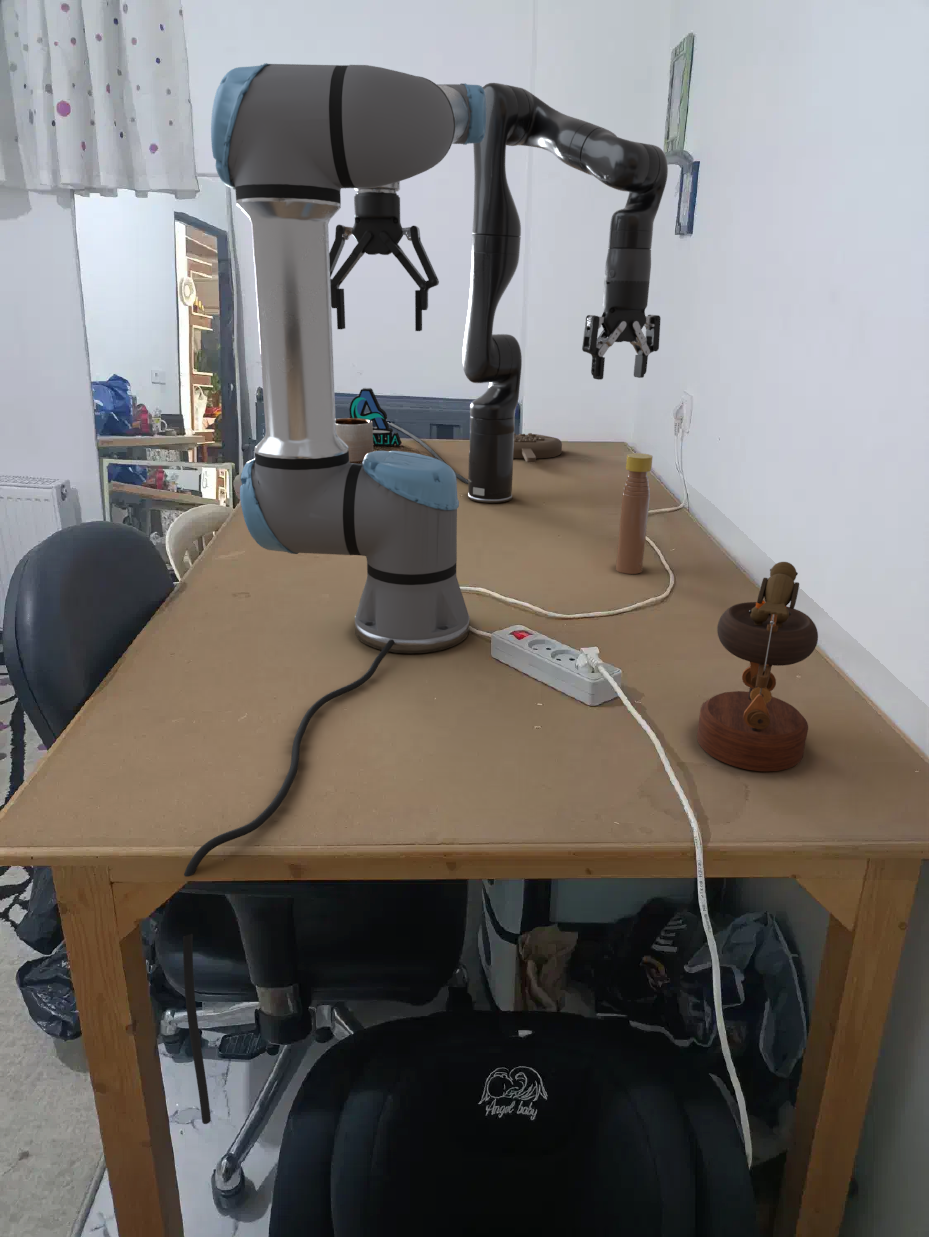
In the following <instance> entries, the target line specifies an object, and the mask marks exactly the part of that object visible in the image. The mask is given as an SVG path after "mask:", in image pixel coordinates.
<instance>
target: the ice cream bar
mask: <svg viewBox="0 0 929 1237" xmlns="http://www.w3.org/2000/svg"><path fill="white" fill-rule="evenodd" d="M562 446H563V443H562V441H561V439H559V438H557V437H553V436H549V435H543V434H538V433H532V432H528V433H527V434H526V433H518V434H517V433H516V432H514V448H513V459H524V460H525V462H526V463H536V461H537V459H548V458H549V459H550V458H555V457H558V456H560V455H561V454H562V449H563V447H562Z"/></svg>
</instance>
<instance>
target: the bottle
mask: <svg viewBox="0 0 929 1237" xmlns="http://www.w3.org/2000/svg"><path fill="white" fill-rule="evenodd" d="M626 478H627V479H626V480H625V483H624V486H623V489H622V495H621V506H620V518H619V530H618V540H617V551H616V561H615V570H616V571H617V572H619V573H622V574H626V575H636V574H637V575H638V574H640V573H642V572H643V569H644V568H643V567H644V558H645V557H644V556H645V548H646V538H647V529H648V518H649V508H650V498H651V494H650V492H651V489H650V485H649V482H650V481H649V476H648V472H634V471H629V470H628V475H627V477H626Z"/></svg>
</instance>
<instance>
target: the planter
mask: <svg viewBox="0 0 929 1237" xmlns="http://www.w3.org/2000/svg"><path fill="white" fill-rule="evenodd" d="M335 420H336V434H337V435H338V437H339V438H340V439H341V440H342V441H343V442H344V443H345V444H346V445H347V446H348V448H349V462H350V463H354V464H362V462H363V460H364V458H365V456H366V455H367V454H368V453H370V452H374V450H375V449H374V444H373V427H374V426H373V421H371V420H368V419H362V418H350V417H342V418H341V417H340V418H335Z"/></svg>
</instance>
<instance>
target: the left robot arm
mask: <svg viewBox="0 0 929 1237" xmlns="http://www.w3.org/2000/svg"><path fill="white" fill-rule="evenodd" d="M210 119H211V122H210V138H211V139H210V140H211V141H210V142H211V151H212V157H213V159H214V160H215V170H216V172H217V175H218V177H219V179H220V181H221V182H222V183H223V184H224V185H225V186H227V187H228V188H232V189H233V190H234V191H235V204H236V206H237V207H238V208H240V209H241V211H242V212H243V213H244V214H245V215H246V216H247V218H249V221H250V222H251V233H252V234H251V235H252V249H253V262H254V263H253V264H254V278H255V292H256V307H257V322H258V337H259V353H260V366H261V367H260V368H261V381H262V382H261V383H262V396H263V411H264V412H263V413H264V427H265V435H264V436H263V438H262V439H260V441H259V442H258V443H257V444H256V446H254V458H253V459H251V460H249V461H247V462H246V463H245V464H244V466H243V468H242V470H241V475H240V482H241V485H240V486H239V500H240V506H241V511H242V515H243V519H244V523H245V526H246V528H247V530H248V533H249V535H250V536H251V537H252V539H253V540H254V541H255V542H256V544H257V545H258V546H260V547H261V548H263V549H265V550H267V551H272V552H273V551H274V552H283V553H288V554H292V555H298V554H312V555H313V554H316V555H317V554H318V555H338V556H340V555H341V556H362V557H365V558H366V579H365V584H364V586H363V589H362V592H361V596H360V600H359V602H358V606H357V609H356V612H355V615H354V633H355V636H356V638H357V639H358V640H359V641H360V642H362V643H363V644H365V645H367V646H368V647H371V648H374V649H377V650H380V651H379V653H378V654H377V655H376V657H375V658H374V660H373V662H371V665H370V667H369V668H368V670H367V671H366V672H365V673H364V674H363V675H362V676H361V677H359V678H358V679H357V680H355V681H353V682H351V683H349V684H347V685H344V686H342V687H340V688H337V689H335V690H333V691H331V692H329V693H327V694H325V695H324V696H322V697H320V699H318V700H317V701H315V703H313V704H312V705H311V706H310V707H309V709H308V710H307V711H306V713H304V715H303V717H302V720H301V721H300V723H299V726H298V728H297V730H296V733H295V735H294V739H293V742H292V748H291V760H290V765H289V769H288V772H287V775H286V776H285V779H284V781H283V782H282V785H281V786H280V788H279V791H278V792H277V794H276V795H275V797H274V798H273V799H272V801H271V802H270V803H269V804H268V806H267V807H266V808H265V809H264V810H263V811H262V812H260V814H259V815H258V816H257V817H256V818H255V819H253V820H252V821H251V822H248V823H247V824H245V825H243V826H240V827H237V828H234V829H232V830H229V831H226V832H223V833H220V834H219V835H217V836H214V837H213V838H211V839H209V840H208V841H206V842H205V843H204V844H203V845H202V846H201V847H199V849H198V850H197V851H196V852H195V853H194V855H193V856H192V858H191V859H190V861H189V862H188V864H187V866H186V867H185V868H186V869H184V870H185V871H184V874H183V876H184V877H186V878H187V877H188V878H189V877H192V876H193V875H194V874H195V873H196V871H197V868H198V867H199V865H200V863H202V860H203V859H204V858H205V856H207V855H208V853H210V852H211V851H212V850H213V849H215V848H217V847H218V846H221V845H222V844H224V843H228V842H230V841H232V840H236V839H239V838H242V837H243V836H246V835H248V834H250V833H252V832H254V831H255V830H257V829H258V828H260V827H261V826H262V825H263V824H264V823H265V822H266V821H267V820H268V819H270V817H271V816H272V815H273V814H274V813H275V812H276V811H277V810H278V809H279V807H280V806H281V805H282V803H283V802H284V801H285V798H286V797H287V795H288V793H289V791H290V789H291V787H292V786H293V782H294V781H295V778H296V775H297V773H298V768H299V764H300V752H301V751H300V749H301V742H302V741H303V737H304V735H305V732H306V730H307V728H308V725H309V723H310V721H311V719H312V718H313V717H314V715H315V714H316V713H317V711H318V710H319V709H320V708H321V707H323V706H324V705H325V704H326V703H328V702H330V701H332V700H333V699H335V698H338V697H339V696H340V697H341V696H342V695H344V694H347V693H349V692H351V691H353V690H356V689H357V688H359V687H361V686H362V685H363V684H365V683H366V682H367V681H369V680H370V679H371V678H372V676H373V675H374V674H375V673H376V671H377V669H378V668H379V665H380V664H381V662H382V661H383V659H384V658H385V657H386V655H387V654H388V653H389V652H390V653H396V654H397V653H398V654H425V653H433V652H439V651H443V650H446V649H449V648H452V647H455V646H457V645H458V644H460V643H462V642H463V641H464V640H466V639H467V637H468V636H469V634H470V615H469V612H468V608H467V606H466V601H465V599H464V596H463V593H462V589H461V586H460V583H459V581H458V577H457V561H458V560H457V559H458V558H457V557H458V556H457V554H458V552H457V551H458V550H457V547H458V541H457V539H458V538H457V535H458V533H457V532H458V523H457V522H458V508H459V507H460V501H459V499H458V482H457V481H458V480H457V479H458V478H457V477H456V475H455V473H454V471H455V470H454V469H453V467H451V466H450V465H449V464H448V463H447V462H445V461H444V462H445V463H444V462H442V461H440V460H438V459H436V458H435V457H432V456H429V455H425V454H421V453H416V452H410V451H402V450H390V451H387V450H375V451H374V452H370V453H368V454H367V455H366V456H365V458H364V460H363V462H362V463H350V462H349V448H348V446H347V445H346V444H345V443H344V442H343V441H342V440H341V439H340V438H339V437H338V435H337V434H336V420H335V419H336V400H335V399H336V398H335V396H336V394H335V371H334V370H335V366H334V341H333V316H332V309H336V325H337V326H336V329H337V330H345V329H346V311H345V310H346V309H345V307H346V306H345V289H344V288H340V286H341V285H342V283H344V281H345V279H346V278H347V277H348V275H349V274H350V272H351V271H352V270H353V269H354V267H355V266H356V265H357V264H358V262H359V261H360V259H361V258H363V256H364V255H365V254H367V255H371V256H376V255H381V256H389V255H391V254H392V255H393V256H394V257H395V258H396V259H397V260H398V262H399V263H400V264H401V265H402V268H404V269H405V271H406V273H408V275H409V276H410V277H411V279H412V280H413V281H414V283H415V285H417V286H418V288H419V289H416V290H414V303H415V304H414V308H415V309H414V310H415V312H414V317H415V318H414V320H415V321H414V322H415V324H414V326H415V328H414V329H415V332H422V331H423V311H427V310H428V308H429V291H430V289H431V288H434V287H437V286H439V285H440V280H439V278H438V276H437V274H436V271H435V268H434V267H433V265H432V263H431V260H430V258H429V255H428V253H427V251H426V249H425V247H424V245H423V243H422V241H421V232H420V227H419V226H417V225H411V226H408V227H403V226H402V223H401V197H400V195H399V194H398V193H397V192H399V191H400V190H401V182H402V181H406V180H409V179H410V178H414V177H416V176H418V175H420V174H423V173H424V172H427V171H429V170H431V169H432V168H434V167H436V166H437V165H438V164H440V163H441V161H443V159H444V158H445V157H446V156H447V155H448V153H449V151H450V149H451V147H452V145H463V146H467V145H469V144H470V145H471V144H473V143H480V142H482V141H483V139H484V137H485V130H486V95H485V91H484V88H483V86H482V85H479V84H468V83H465V82H464V83H459V84H458V83H449V84H446V83H444V84H440V83H439V84H438V83H437V84H436V82H435V81H432V80H430V79H429V78H426V77H424V76H418V75H415V74H409V73H406V72H403V71H399V70H394V69H390V68H385V67H381V66H375V65H368V64H349V65H348V64H347V65H346V64H343V65H341V64H340V65H339V64H298V63H297V64H295V63H294V64H293V63H292V64H291V63H285V64H284V63H267V62H265V63H263V64H260V65H252V66H239V67H234V68H232V69H230V70H229V71H228V72H227V73H226V74H224V76H223V77H222V78H221V80H220V83H219V85H218V87H217V89H216V92H215V96H214V99H213V104H212V110H211V118H210ZM342 189H354V190H355V191H356V192H357V193H355V195H354V196H353V204H354V206H353V207H354V224H353V226H346V225H343V224H337V225H336V226H335V235H334V240H333V243H332V245H331V248H330V238H329V237H330V236H329V234H330V233H329V223H330V222H331V220H332V218H333V217H334V216H335V215H336V214H337V213H338V212H339V211H340V209H341V207H342V205H341V204H342V201H341V200H342V198H341V192H342V191H341V190H342ZM351 235H352V236H353V237H354V239H355V240H356V242H357V243H356V245H355V246H354V248H353V249H352V251H351V253H350V254H349V256H347V258H346V259H345V261H344V262H343V263H342V265H341V266H340V268H339V269H338V271H337V272H336V273H335V274H334V276H333V273H334V271H335V269H336V265H337V263H338V261H339V258H340V256H341V253H342V252H343V249H344V247H345V244H346V241H348V240H349V239H350V238H351ZM403 236H405V237H406V239H407V241H409V242H411V244H412V246H413V249H414V251H415V253H416V255H417V258H418V260H419V262H420V265H421V266H422V268H423V271H424V274H425V275H426V278H427V279H428V280H426V279H425V278H424V277H423V275H422V274H421V273H420V271H419V270H418V269H417V267H416V266H415V265H414V264H413V262H412V261H411V260H410V258H409V257H408V256H407V255H406V253H405V252H404V250H403V249H402V247H401V246H400V245H399V243H400V241H401V240H402V238H403ZM332 276H333V277H332ZM447 464H448V465H447ZM453 470H454V471H453ZM193 938H194V935H193V933H190V934H186V935H182V955H183V957H182V958H183V983H184V997H185V1008H186V1017H187V1024H188V1025H187V1026H188V1032H189V1039H190V1045H191V1051H192V1057H193V1058H192V1059H193V1064H194V1071H195V1076H196V1084H197V1091H198V1098H199V1099H198V1100H199V1107H200V1115H201V1123H202V1124H203V1125H208V1124H210V1123H211V1121H212V1117H211V1108H210V1101H209V1092H208V1084H207V1078H206V1077H207V1076H206V1070H205V1064H204V1057H203V1050H202V1044H201V1037H200V1030H199V1023H198V1022H199V1021H198V1014H197V1006H196V993H195V980H194V979H195V976H194V953H193V952H194V951H193V950H194V949H193V947H194V946H193V944H194V941H193V940H194V939H193Z"/></svg>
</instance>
